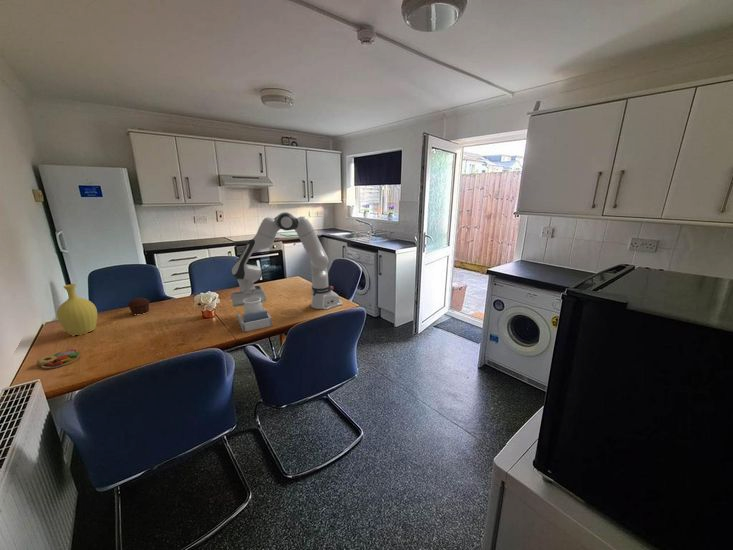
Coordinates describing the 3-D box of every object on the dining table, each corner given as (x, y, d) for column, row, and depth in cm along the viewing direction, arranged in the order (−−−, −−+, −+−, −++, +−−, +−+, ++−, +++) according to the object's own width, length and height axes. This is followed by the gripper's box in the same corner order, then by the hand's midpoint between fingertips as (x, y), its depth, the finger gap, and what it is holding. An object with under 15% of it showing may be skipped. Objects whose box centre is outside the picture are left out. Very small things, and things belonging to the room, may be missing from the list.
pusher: (267, 322, 179) (266, 310, 176) (268, 323, 177) (267, 311, 175) (244, 327, 172) (242, 314, 170) (245, 328, 171) (243, 315, 168)
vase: (71, 328, 171) (57, 282, 164) (106, 323, 177) (94, 279, 170) (56, 340, 157) (41, 291, 149) (94, 335, 163) (81, 287, 155)
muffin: (130, 317, 186) (126, 303, 183) (128, 312, 194) (125, 298, 191) (152, 313, 193) (149, 298, 191) (150, 308, 201) (147, 294, 199)
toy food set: (34, 366, 135) (32, 360, 134) (70, 352, 146) (69, 346, 146) (51, 372, 130) (48, 366, 129) (87, 357, 142) (85, 351, 141)
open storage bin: (265, 314, 191) (264, 307, 189) (272, 325, 175) (271, 318, 174) (238, 320, 183) (237, 312, 181) (243, 332, 167) (242, 324, 166)
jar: (259, 326, 174) (256, 302, 170) (242, 325, 175) (239, 302, 171) (266, 318, 184) (264, 296, 180) (250, 318, 185) (247, 296, 181)
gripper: (229, 290, 180) (233, 311, 175) (264, 285, 190) (268, 304, 185) (229, 295, 185) (233, 315, 180) (263, 290, 195) (267, 308, 190)
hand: (251, 309), depth 182 cm, fingers closed, pressing on jar
